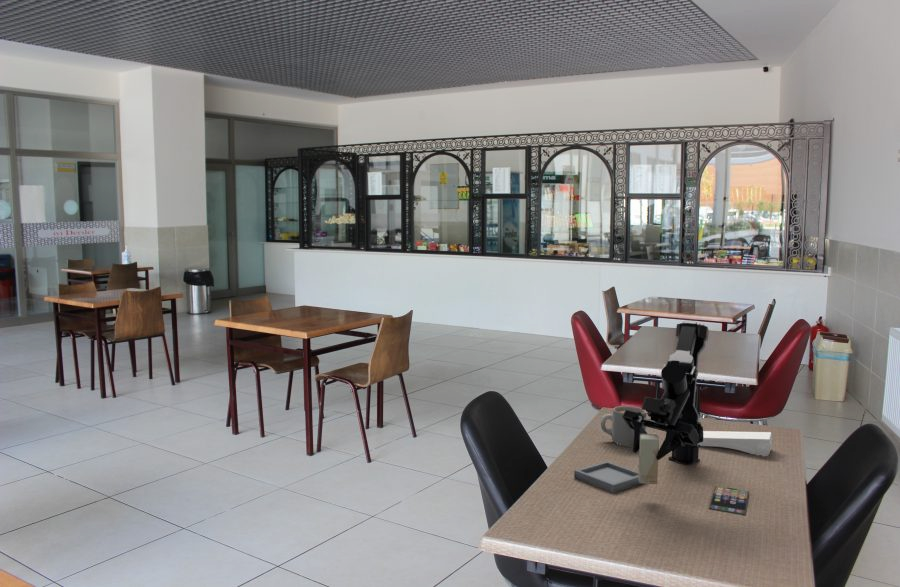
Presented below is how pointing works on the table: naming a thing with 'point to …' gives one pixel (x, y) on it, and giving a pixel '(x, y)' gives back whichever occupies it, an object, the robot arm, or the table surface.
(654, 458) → the box
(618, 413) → the coffee mug
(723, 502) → the smartphone
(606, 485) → the tray
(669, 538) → the table surface
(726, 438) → the wall bracket
